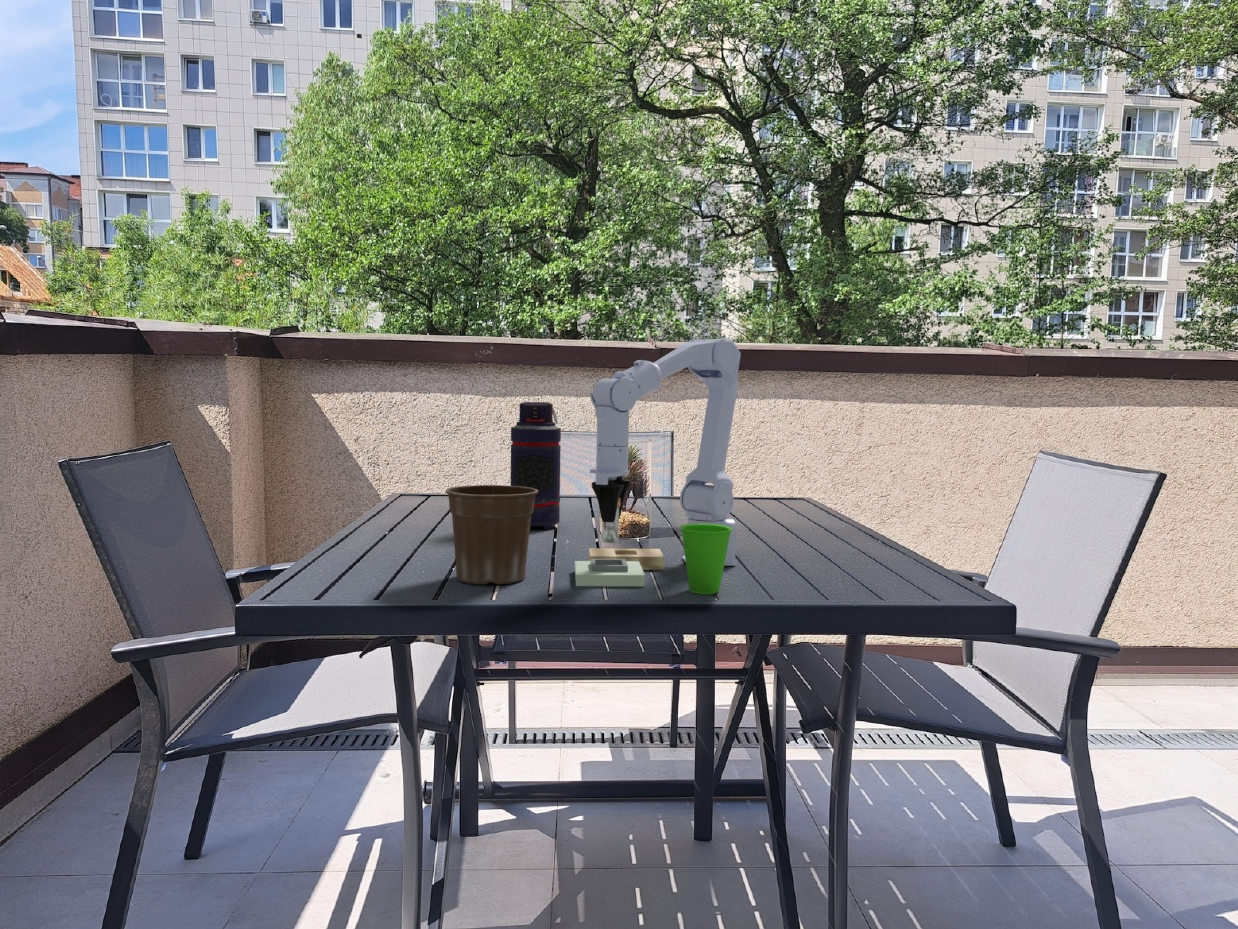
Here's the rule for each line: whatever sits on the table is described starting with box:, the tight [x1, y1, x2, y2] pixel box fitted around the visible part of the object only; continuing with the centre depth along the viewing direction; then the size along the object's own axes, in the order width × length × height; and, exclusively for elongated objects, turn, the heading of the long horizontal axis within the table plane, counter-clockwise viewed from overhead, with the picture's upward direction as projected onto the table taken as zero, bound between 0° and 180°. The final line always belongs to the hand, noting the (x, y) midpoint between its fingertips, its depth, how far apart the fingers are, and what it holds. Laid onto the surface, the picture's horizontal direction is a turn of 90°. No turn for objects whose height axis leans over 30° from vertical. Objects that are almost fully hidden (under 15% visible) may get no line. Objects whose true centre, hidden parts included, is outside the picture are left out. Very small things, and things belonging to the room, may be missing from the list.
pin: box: [601, 497, 620, 544], centre depth 164 cm, size 3×3×8 cm
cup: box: [679, 523, 733, 595], centre depth 156 cm, size 9×9×11 cm
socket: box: [574, 559, 646, 587], centre depth 164 cm, size 12×12×3 cm
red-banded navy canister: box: [510, 401, 562, 531], centre depth 219 cm, size 14×12×30 cm
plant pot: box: [445, 484, 538, 585], centre depth 162 cm, size 16×16×16 cm
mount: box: [588, 547, 665, 571], centre depth 176 cm, size 14×8×2 cm, turn 94°
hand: (610, 520), depth 164 cm, fingers closed on pin, 3 cm apart
